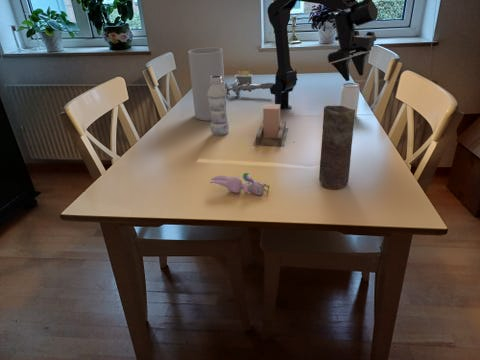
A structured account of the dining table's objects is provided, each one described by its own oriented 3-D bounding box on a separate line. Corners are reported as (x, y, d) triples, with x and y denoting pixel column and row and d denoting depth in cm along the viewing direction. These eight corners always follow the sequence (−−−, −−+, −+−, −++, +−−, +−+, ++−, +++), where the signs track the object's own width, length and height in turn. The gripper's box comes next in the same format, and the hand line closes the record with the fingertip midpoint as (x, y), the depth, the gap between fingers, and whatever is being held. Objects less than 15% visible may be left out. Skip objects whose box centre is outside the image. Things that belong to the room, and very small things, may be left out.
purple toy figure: (268, 191, 91) (212, 180, 92) (272, 171, 88) (214, 160, 89) (266, 204, 86) (206, 192, 87) (270, 184, 83) (208, 172, 84)
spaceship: (273, 82, 152) (275, 72, 156) (198, 89, 161) (202, 79, 166) (276, 97, 158) (277, 86, 162) (203, 103, 167) (206, 92, 172)
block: (265, 132, 121) (265, 103, 116) (280, 132, 120) (280, 104, 115) (263, 137, 117) (263, 108, 112) (278, 138, 116) (278, 109, 111)
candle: (315, 176, 94) (320, 103, 84) (341, 174, 94) (350, 101, 85) (323, 191, 87) (330, 113, 78) (352, 189, 88) (362, 111, 78)
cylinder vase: (232, 114, 141) (229, 49, 129) (210, 123, 133) (204, 54, 121) (211, 109, 149) (206, 46, 136) (188, 117, 141) (181, 51, 129)
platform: (230, 81, 191) (229, 69, 188) (263, 81, 188) (263, 69, 185) (225, 87, 181) (224, 74, 178) (259, 87, 178) (259, 74, 174)
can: (357, 119, 131) (361, 87, 125) (339, 118, 132) (342, 87, 126) (355, 113, 136) (359, 82, 130) (338, 113, 138) (341, 82, 132)
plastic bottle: (232, 132, 125) (229, 74, 115) (225, 139, 119) (221, 79, 109) (215, 130, 127) (210, 74, 117) (207, 137, 121) (202, 79, 111)
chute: (260, 129, 126) (260, 119, 124) (288, 130, 124) (288, 120, 122) (252, 147, 112) (252, 136, 110) (284, 149, 110) (284, 137, 108)
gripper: (353, 25, 104) (363, 78, 108) (382, 19, 115) (390, 67, 119) (322, 37, 112) (332, 85, 116) (351, 30, 124) (360, 74, 127)
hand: (354, 78), depth 119 cm, fingers open, 9 cm apart
